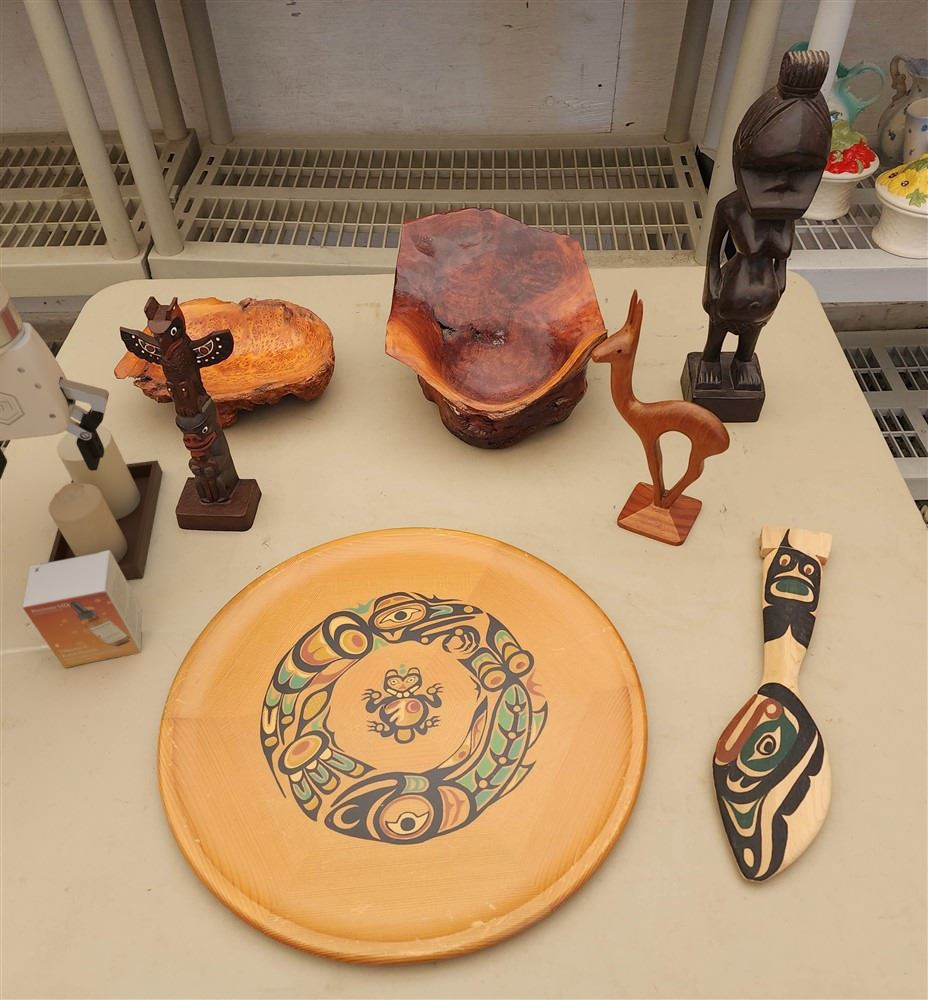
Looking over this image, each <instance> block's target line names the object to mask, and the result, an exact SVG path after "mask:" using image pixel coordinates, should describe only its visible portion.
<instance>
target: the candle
mask: <svg viewBox="0 0 928 1000" xmlns="http://www.w3.org/2000/svg"><path fill="white" fill-rule="evenodd" d="M48 512H49V515H50V516H51V518H52V520H53V521H54V523H55V525H56V526H57V529H58V528H59V530H60V531H61V533H62V535H63V536H64V538H65V540H66V541H67V543H68V545H69V546H70V548H71V550H72V551H73V553H74V555H75V556H76V557H80V556H85V555H90V554H95V553H99V552H102V551H107V550H110V551H111V553H112V555H113V556H114V558H115V560H116V562H117V563H118V562H119V561H121V560H122V558H123V557H124V556H125V554H126V552H127V542H126V539H125V537H124V535H123V533H122V531H121V530H120V528H119V526H118V524H117V522H116V520H115V518H114V516H113V514H112V512H111V511H110V509H109V507H108V505H107V503H106V501H105V499H104V497H103V495H102V493H101V492H100V490H99V489H98V488H97V487H96V486H94V485H91V484H85V483H78V482H74V483H71V482H70V483H67V484H64V485H63V486H62V487H61V488H60V490H59V491H57V492H56V493H54V495H53V497H52V499H51V501H50V502H49V505H48Z"/></svg>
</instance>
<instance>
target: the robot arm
mask: <svg viewBox="0 0 928 1000" xmlns="http://www.w3.org/2000/svg"><path fill="white" fill-rule="evenodd" d="M109 396H110V393H109V391H108V390H107V389H104V388H101V387H97V386H93V385H90V384H85V383H82V382H77V381H73V380H69V379H68V378H67V377H66V375H65V372H64V371H63V370H62V368H61V366H60V364H59V362H58V361H57V359H56V357H55V356H54V354H53V352H52V351H51V350H50V348H49V346H48V345H47V344H46V342H45V341H44V339H43V338H42V337H41V336H40V334H39V333H38V332H37V330H36V329H35V328H34V327H33V325H31V323H29V322H26V321H25V322H24V321H23V320H22V318H21V316H20V314H19V312H18V310H17V308H16V306H15V304H14V301H13V299H12V297H11V295H10V294H9V291H8V288H7V287H6V285H5V283H4V281H3V279H2V277H1V275H0V442H3V441H13V440H22V439H23V440H24V439H31V438H40V437H48V436H54V435H55V436H56V435H59V434H62V433H64V432H65V431H66V432H67V433H71V434H73V435H75V436H77V437H78V438H77V442H76V443H77V446H78V449H79V451H80V453H81V455H82V457H83V459H84V461H85V463H86V465H87V467H88V469H89V470H91V471H95V470H97V468H98V465H99V461H100V458H103V456H104V446H103V444H102V442H101V440H100V437H99V435H98V433H97V431H96V429H97V428H98V426H99V425H100V426H101V424H102V422H103V421H104V417H105V413H106V410H107V406H108V401H109ZM77 401H78V402H82V403H86V404H89V406H91V408H90V409H89V410H86V409H85V408H82V407H81V406H79V405H77V404H76V403H77ZM72 418H73V419H72ZM7 463H8V459H7V457H6V455H5V454H4V451H3V450H2V448H1V447H0V480H1V479H2V477H3V474H4V472H5V469H6V467H7V465H8V464H7Z"/></svg>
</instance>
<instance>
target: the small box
mask: <svg viewBox="0 0 928 1000" xmlns="http://www.w3.org/2000/svg"><path fill="white" fill-rule="evenodd" d="M48 562H49V561H48ZM48 562H42V563H36V564H31V565H29V570H28V576H27V581H26V586H25V592H24V597H23V604H22V609H23V611H24V613H25V614H26V615H27V616H28V618H29V620H30V621H31V623H32V624H33V626H34V627H35V628H36V630H37V631H38V633H39V634H40V636H41V637H42V639H43V640H44V641H45V643H46V644H47V646H48V647H49V649H50V651H51V652H52V653H53V654H54V656H55V657H56V659H57V660H58V662H59V664H60V665H61V666H62V667H63V668H64V669H66V668H70V667H75V666H79V665H83V664H88V663H93V662H98V661H103V660H109V659H113V658H118V657H123V656H129V655H136V654H140V653H141V649H142V636H143V632H142V623H143V609H142V607H141V605H140V604H139V601H138V599H137V598H136V596H135V593H134V591H133V590H132V588H131V586H130V584H129V582H128V581H126V579H125V577H124V575H123V573H122V571H121V570H120V568H119V566H118V564H117V562H116V560H115V558H114V556H113V555H112V553H111V551H110V550H107V551H102V552H99V553H95V554H90V555H85V556H80V557H75V558H70V559H65V560H59V561H54V562H49V563H48Z"/></svg>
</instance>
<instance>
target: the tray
mask: <svg viewBox="0 0 928 1000" xmlns="http://www.w3.org/2000/svg"><path fill="white" fill-rule="evenodd" d="M125 464H126V466H127V468H128V470H129V472H130V474H131V476H132V478H133V480H134V482H135V484H136V486H137V488H138V490H139V493H140V502H139V504H138V506H137V507H136V509H135V510H134V511H133V512H131V513H130V514H129V515H127V516H125V517H123V518H121V519H118V520H116V522H117V524H118V526H119V528H120V530H121V531H122V533H123V535H124V537H125V539H126V542H127V552H126V554H125V556H124V557H123V558H122V560H121V561H119V562H118V563H117V564H118V566H119V568H120V570H121V571H122V573H123V575H124V577H125V579H126V581H127V582H128V581H135V580H142V579H144V575H145V571H146V565H147V561H148V554H149V550H150V543H151V538H152V533H153V526H154V522H155V516H156V511H157V505H158V501H159V495H160V489H161V483H162V478H163V474H164V472H163V470H162V467H161V465H160V463H159V460H157V459H156V460H149V461H142V462H133V463H125ZM70 483H74V482H73V480H72V479H71V481H70ZM75 557H76V556H75V555H74V553H73V551H72V550H71V548H70V546H69V545H68V543H67V541H66V540H65V538H64V536H63V535H62V533H61V531H60V530H59V528H58V527H57V531H56V535H55V537H54V541H53V544H52V548H51V552H50V555H49V558H48V561H47V563H49V562H54V561H59V560H65V559H70V558H75Z"/></svg>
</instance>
